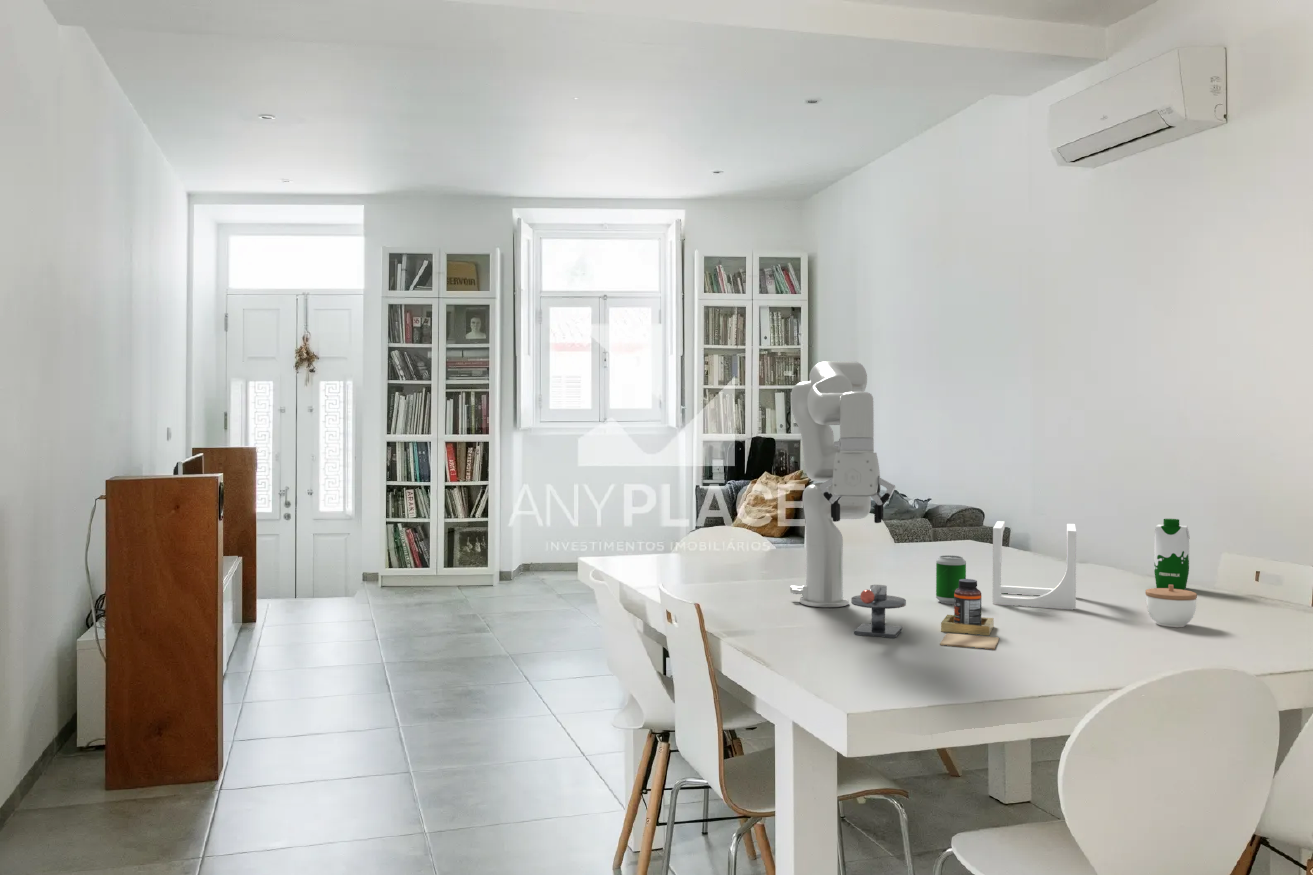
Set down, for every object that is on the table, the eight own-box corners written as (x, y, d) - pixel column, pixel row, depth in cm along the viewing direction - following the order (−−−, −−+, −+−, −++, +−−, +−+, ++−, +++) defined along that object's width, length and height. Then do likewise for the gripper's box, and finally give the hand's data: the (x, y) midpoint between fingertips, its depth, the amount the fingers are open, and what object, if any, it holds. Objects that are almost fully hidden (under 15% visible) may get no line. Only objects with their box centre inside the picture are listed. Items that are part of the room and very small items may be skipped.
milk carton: (1152, 589, 281) (1153, 519, 281) (1156, 584, 289) (1156, 516, 288) (1187, 591, 276) (1188, 520, 276) (1190, 587, 284) (1190, 518, 284)
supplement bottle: (950, 626, 228) (950, 578, 228) (974, 626, 229) (975, 577, 229) (960, 632, 222) (960, 582, 222) (985, 631, 223) (985, 581, 223)
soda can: (967, 605, 255) (967, 559, 255) (937, 604, 257) (937, 558, 257) (964, 600, 263) (964, 555, 263) (935, 599, 264) (935, 554, 264)
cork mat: (939, 645, 209) (939, 643, 209) (946, 635, 219) (946, 633, 219) (994, 649, 205) (994, 648, 205) (998, 639, 215) (998, 637, 215)
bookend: (992, 604, 257) (993, 528, 257) (996, 592, 276) (997, 521, 276) (1075, 609, 250) (1076, 531, 250) (1074, 597, 268) (1074, 523, 268)
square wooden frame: (941, 631, 223) (941, 622, 223) (947, 623, 232) (947, 614, 232) (989, 635, 219) (989, 626, 219) (993, 626, 228) (993, 618, 228)
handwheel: (857, 597, 230) (857, 576, 230) (910, 601, 225) (910, 579, 225) (838, 611, 212) (838, 588, 212) (894, 616, 207) (894, 592, 207)
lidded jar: (1192, 621, 234) (1192, 582, 234) (1200, 630, 224) (1201, 589, 224) (1142, 618, 238) (1142, 580, 238) (1148, 627, 228) (1149, 587, 228)
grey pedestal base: (854, 634, 220) (854, 607, 219) (862, 626, 228) (862, 601, 228) (894, 638, 216) (895, 610, 216) (902, 630, 224) (902, 604, 224)
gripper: (814, 446, 224) (814, 521, 224) (889, 446, 216) (890, 524, 215) (825, 446, 230) (825, 519, 230) (899, 446, 222) (899, 522, 222)
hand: (857, 521), depth 223 cm, fingers open, 9 cm apart
